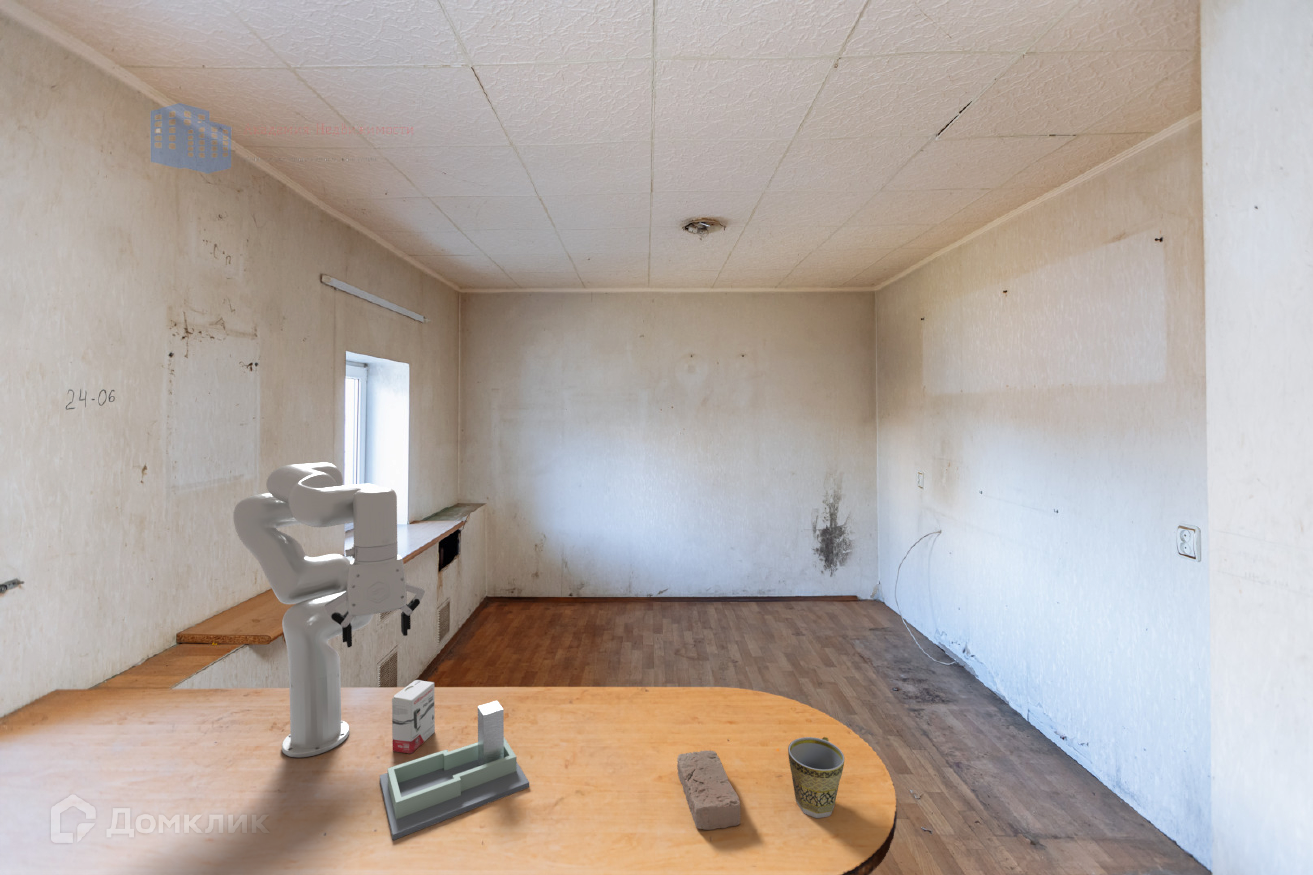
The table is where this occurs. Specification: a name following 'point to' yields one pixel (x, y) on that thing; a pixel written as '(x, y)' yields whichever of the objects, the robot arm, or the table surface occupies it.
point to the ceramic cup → (815, 774)
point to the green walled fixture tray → (446, 787)
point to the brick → (708, 790)
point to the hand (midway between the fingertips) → (377, 639)
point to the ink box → (413, 716)
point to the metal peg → (490, 732)
